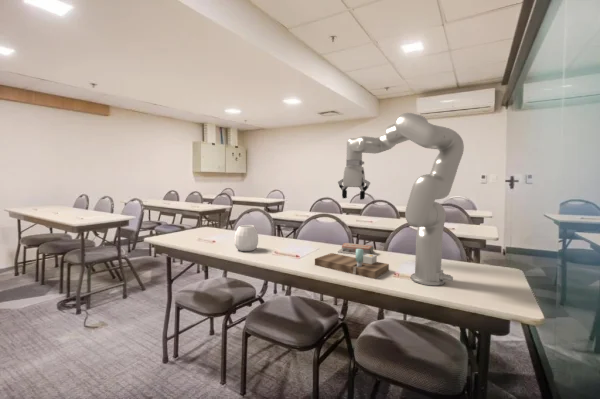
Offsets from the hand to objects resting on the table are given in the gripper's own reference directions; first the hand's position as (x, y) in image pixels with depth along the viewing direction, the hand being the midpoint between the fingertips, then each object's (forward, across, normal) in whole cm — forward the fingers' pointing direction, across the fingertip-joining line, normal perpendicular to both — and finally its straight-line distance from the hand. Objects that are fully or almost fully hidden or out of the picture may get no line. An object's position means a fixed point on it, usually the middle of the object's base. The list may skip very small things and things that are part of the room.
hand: (353, 198), depth 150 cm
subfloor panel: (+30, -7, +14) cm, 34 cm away
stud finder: (+27, -14, +10) cm, 32 cm away
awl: (+30, -13, +17) cm, 37 cm away
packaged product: (+31, +5, -14) cm, 34 cm away
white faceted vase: (+31, +55, +21) cm, 66 cm away
